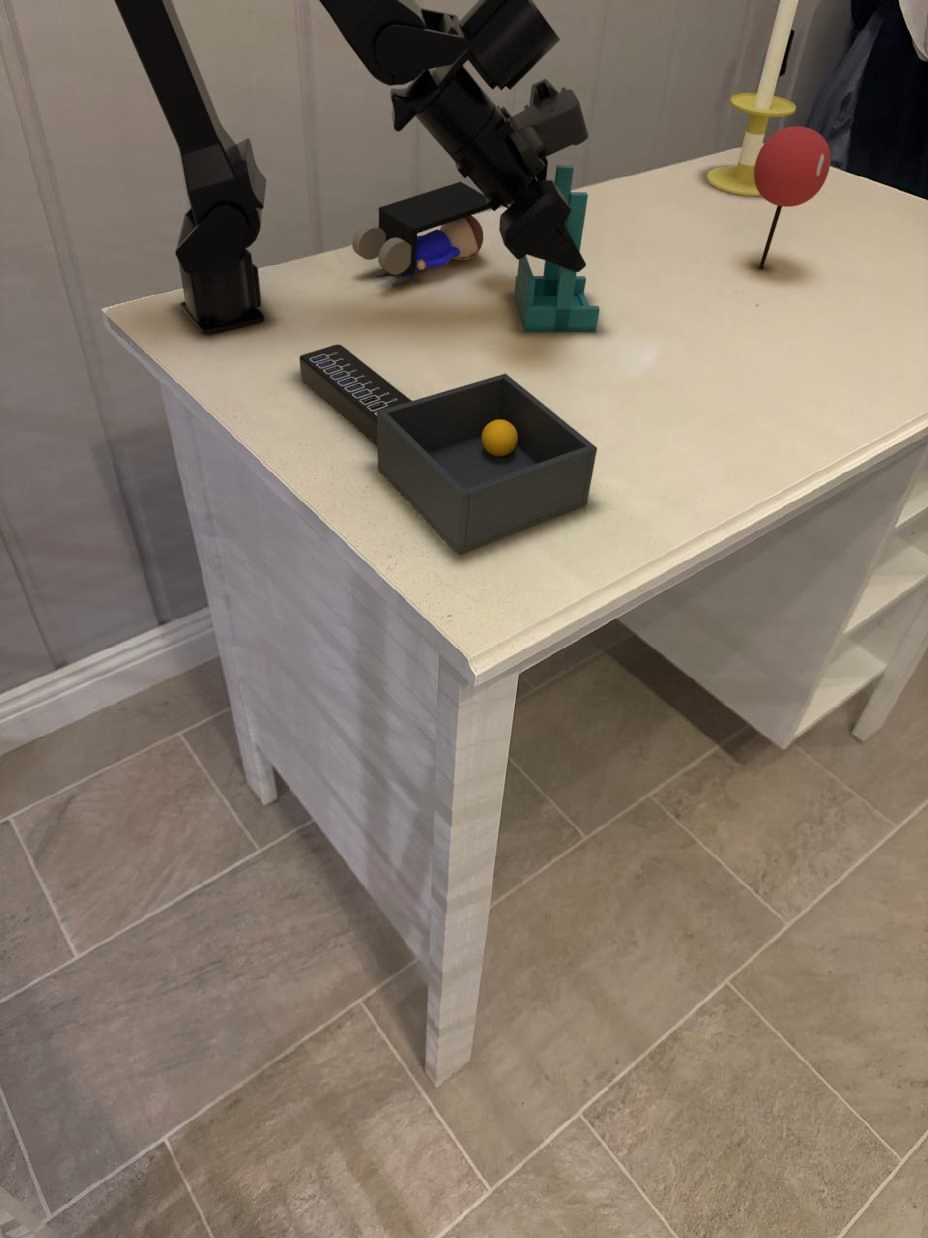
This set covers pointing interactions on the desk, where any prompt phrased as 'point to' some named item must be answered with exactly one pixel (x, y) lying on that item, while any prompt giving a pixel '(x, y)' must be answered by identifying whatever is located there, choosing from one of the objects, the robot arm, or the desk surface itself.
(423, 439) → the bin
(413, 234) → the figurine character
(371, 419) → the multiport hub
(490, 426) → the toy ball
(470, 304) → the desk surface
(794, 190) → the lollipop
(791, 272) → the desk surface
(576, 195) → the tray with tall posts
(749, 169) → the candle
